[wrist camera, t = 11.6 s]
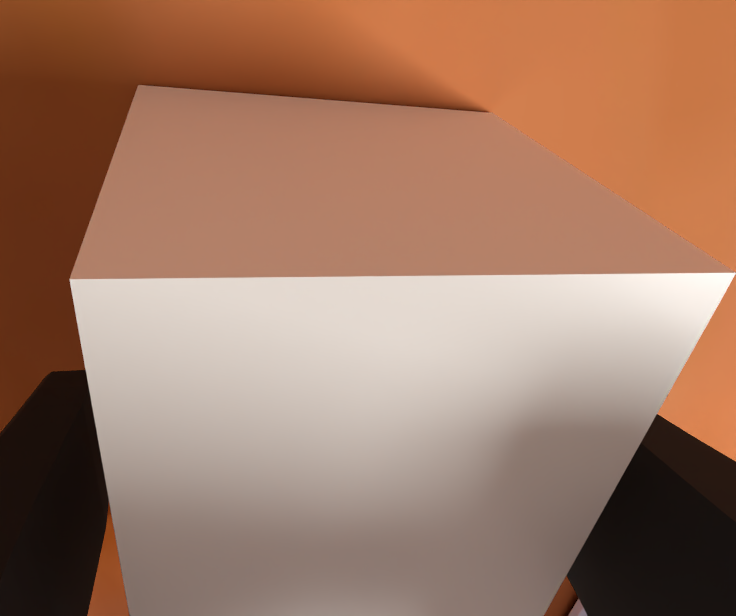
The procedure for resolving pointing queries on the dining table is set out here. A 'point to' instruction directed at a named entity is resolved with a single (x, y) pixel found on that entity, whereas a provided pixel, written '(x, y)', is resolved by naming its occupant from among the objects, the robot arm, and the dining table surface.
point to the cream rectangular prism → (366, 355)
